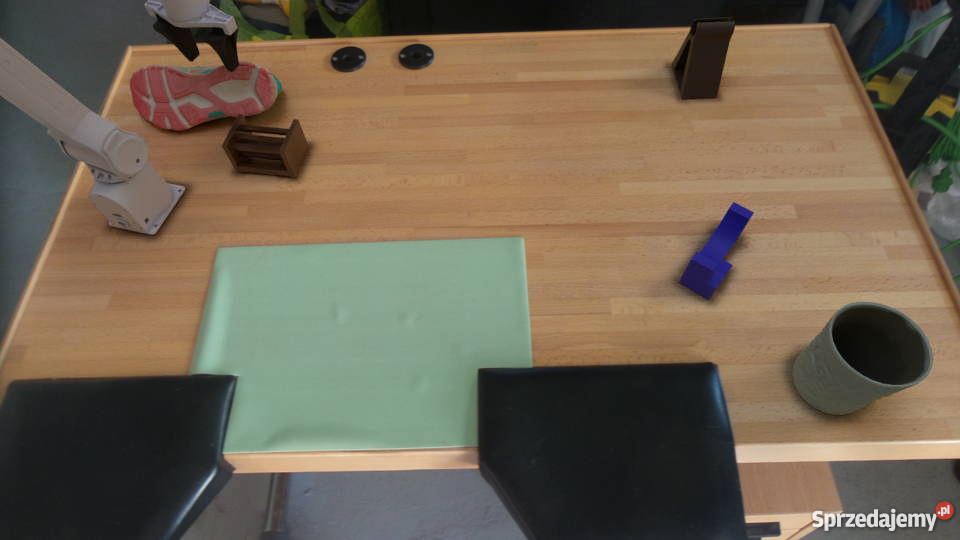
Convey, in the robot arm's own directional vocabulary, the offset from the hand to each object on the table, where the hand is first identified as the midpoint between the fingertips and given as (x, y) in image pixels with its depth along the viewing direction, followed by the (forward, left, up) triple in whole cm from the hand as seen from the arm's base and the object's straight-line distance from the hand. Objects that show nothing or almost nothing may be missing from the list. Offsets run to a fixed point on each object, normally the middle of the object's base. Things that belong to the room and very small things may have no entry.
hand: (214, 62), depth 91 cm
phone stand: (+25, -77, -10) cm, 81 cm away
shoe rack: (-9, -11, -10) cm, 18 cm away
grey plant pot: (-28, -96, -10) cm, 100 cm away
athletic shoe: (-1, +4, -10) cm, 11 cm away
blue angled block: (-13, -82, -10) cm, 83 cm away
